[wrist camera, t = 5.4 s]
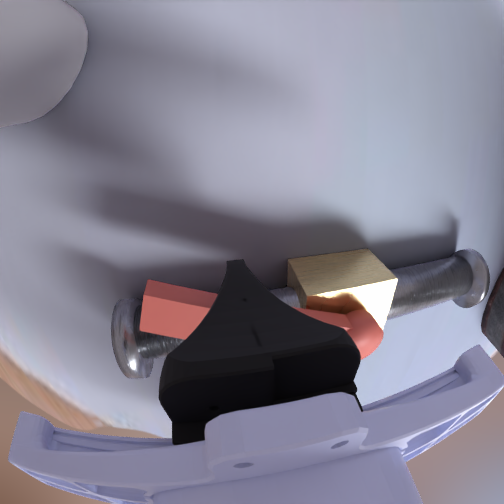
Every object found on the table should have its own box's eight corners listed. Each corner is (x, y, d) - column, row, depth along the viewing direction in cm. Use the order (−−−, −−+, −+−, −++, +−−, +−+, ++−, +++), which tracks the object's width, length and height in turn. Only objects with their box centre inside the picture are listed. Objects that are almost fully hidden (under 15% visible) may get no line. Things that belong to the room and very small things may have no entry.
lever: (381, 312, 16) (392, 326, 14) (356, 348, 17) (364, 363, 16) (149, 270, 12) (143, 288, 11) (142, 320, 13) (138, 340, 12)
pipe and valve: (444, 288, 23) (474, 319, 18) (146, 342, 20) (137, 396, 15) (460, 234, 20) (498, 263, 15) (121, 278, 17) (100, 334, 12)
